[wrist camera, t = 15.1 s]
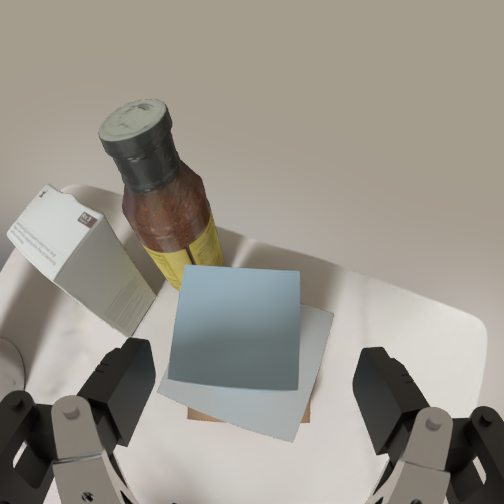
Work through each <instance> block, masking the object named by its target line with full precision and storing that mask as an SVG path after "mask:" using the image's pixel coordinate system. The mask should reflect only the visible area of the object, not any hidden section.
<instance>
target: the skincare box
mask: <svg viewBox="0 0 504 504" xmlns="http://www.w3.org/2000/svg"><path fill="white" fill-rule="evenodd" d="M7 236H8V238H9V239H10V240H11V241H12V243H13V244H14V245H15V246H16V247H17V249H18V250H19V251H20V252H21V253H22V254H23V255H24V256H25V257H26V258H27V259H28V260H29V261H30V262H31V263H32V264H33V265H34V266H35V267H36V268H37V269H38V270H39V271H40V272H41V273H42V274H43V275H45V276H46V277H47V278H48V279H49V280H50V281H52V282H53V283H54V284H56V285H57V286H58V287H59V288H61V289H62V290H63V291H64V292H66V293H67V294H68V295H69V296H71V297H72V298H73V299H74V300H76V301H77V302H78V303H79V304H81V305H82V306H83V307H85V308H86V309H87V310H88V311H90V312H91V313H92V314H94V315H95V316H97V317H98V318H99V319H101V320H102V321H103V322H105V323H106V324H108V325H109V326H111V327H112V328H114V329H115V330H117V331H118V332H119V333H121V334H122V335H124V336H126V337H127V338H129V337H131V336H132V334H133V333H134V331H135V329H136V328H137V326H138V324H139V323H140V321H141V320H142V318H143V316H144V315H145V313H146V312H147V310H148V309H149V307H150V305H151V304H152V302H153V301H154V299H155V298H156V295H155V293H154V292H153V291H152V289H151V288H150V286H149V285H148V284H147V282H146V281H145V279H144V278H143V276H142V275H141V273H140V272H139V270H138V269H137V267H136V266H135V264H134V263H133V261H132V260H131V258H130V257H129V255H128V254H127V252H126V250H125V249H124V247H123V246H122V244H121V242H120V241H119V239H118V238H117V236H116V234H115V233H114V231H113V229H112V228H111V226H110V224H109V223H108V221H107V219H106V217H105V216H104V214H102V213H100V212H98V211H96V210H94V209H92V208H90V207H88V206H86V205H84V204H82V203H80V202H78V201H77V200H76V198H75V197H74V196H73V195H71V194H66V193H62V192H60V191H58V190H57V189H55V188H54V187H53V186H52V185H50V184H47V185H46V186H45V187H44V188H43V189H42V190H41V191H40V192H39V193H38V194H37V196H36V197H35V198H34V199H33V200H32V201H31V203H30V204H29V205H28V207H27V208H26V209H25V210H24V211H23V213H22V214H21V215H20V217H19V218H18V219H17V220H16V221H15V223H14V224H13V225H12V226H11V228H10V229H9V231H8V232H7Z"/></svg>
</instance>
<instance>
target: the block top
mask: <svg viewBox="0 0 504 504" xmlns="http://www.w3.org/2000/svg"><path fill="white" fill-rule="evenodd" d="M333 317H334V314H333V313H330V312H327V311H324V310H320V309H317V308H314V307H311V306H308V305H304V304H301V303H300V353H299V383H298V390H295V391H285V392H256V391H241V390H229V389H218V388H210V387H204V386H199V385H193V384H188V383H183V382H179V381H174V380H170V379H167V378H168V370H169V364H168V367H167V369H166V371H165V373H164V376H163V378H162V380H161V383H160V385H159V388H158V390H157V392H158V393H160V394H162V395H164V396H166V397H168V398H170V399H172V400H174V401H176V402H178V403H181V404H183V405H185V406H187V407H190V408H192V409H194V410H197V411H199V412H201V413H204V414H206V415H209V416H211V417H214V418H216V419H219V420H222V421H224V422H227V423H230V424H232V425H235V426H238V427H241V428H244V429H247V430H250V431H253V432H256V433H260V434H263V435H266V436H270V437H273V438H277V439H280V440H284V441H288V442H292V443H293V441H294V439H295V436H296V433H297V431H298V428H299V426H300V423H301V420H302V417H303V415H304V412H305V409H306V406H307V403H308V401H309V398H310V395H311V392H312V389H313V386H314V383H315V380H316V376H317V373H318V370H319V367H320V364H321V360H322V357H323V353H324V350H325V347H326V343H327V339H328V336H329V332H330V328H331V325H332V321H333Z"/></svg>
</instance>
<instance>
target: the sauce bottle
mask: <svg viewBox="0 0 504 504" xmlns="http://www.w3.org/2000/svg"><path fill="white" fill-rule="evenodd" d="M171 128H172V120H171V117H170V114H169V112H168V108H167V106H166V104H165V103H164V102H162V101H160V100H157V99H145V100H139V101H135V102H131V103H128V104H126V105H124V106H122V107H120V108H118V109H117V110H115V111H114V112H113V113H112V114H110V115H109V116H108V117H107V118H106V120H105V121H104V122H103V123H102V125H101V126H100V128H99V138H100V140H101V142H102V144H103V147H104V149H105V151H106V152H107V153H108V155H110V156H111V157H113V159H114V161H115V163H116V165H117V167H118V170H119V171H120V173H121V175H122V179H123V182H124V184H125V187H124V196H123V204H122V209H123V214H124V215H125V217H126V219H127V220H128V222H129V224H130V225H131V227H132V229H133V230H134V231H135V232H136V235H137V237H138V239H139V241H140V242H141V244H142V245H143V247H144V248H145V249H146V251H147V252H148V254H149V255H150V256H151V258H152V259H153V261H154V262H155V263H156V265H157V266H158V268H159V269H160V270H161V272H162V273H163V275H164V276H165V277H166V279H167V280H168V281H169V283H170V284H171V285H172V287H174V288H175V289H177V290H179V291H180V289H181V283H182V278H183V272H184V267H185V265H201V266H217V267H224V260H223V255H222V252H221V248H220V244H219V239H218V235H217V231H216V227H215V223H214V220H213V216H212V212H211V208H210V204H209V201H208V200H207V198H206V193H205V189H204V185H203V182H202V179H201V177H200V176H199V175H197V174H196V173H195V172H193V170H191V169H190V168H189V167H188V166H187V165H186V164H185V163H184V162H183V161H182V160H180V158H179V155H178V152H177V151H176V149H175V146H174V142H173V139H172V134H171Z"/></svg>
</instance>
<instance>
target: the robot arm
mask: <svg viewBox="0 0 504 504" xmlns="http://www.w3.org/2000/svg"><path fill="white" fill-rule="evenodd" d="M155 378H156V373H155V367H154V362H153V356H152V351H151V346H150V342H149V341H148V340H145V339H138V338H132V337H129V338H128V339H127V340H126V342H125V343H124V344H123V346H122V347H121V348H115V349H114V350H112V351H111V352H109V353H107V354H106V355H105V357H104V358H103V359H102V361H101V362H100V364H99V365H98V366H97V367H96V369H95V371H94V372H93V373H92V374H91V376H90V377H89V378H88V380H87V381H86V383H85V384H84V385H83V387H82V388H81V389H80V391H79V392H78V394H77V395H76V396H75V395H70V396H65V397H62V398H60V399H59V400H57V401H56V402H55V403H54V405H45V404H36V403H35V402H34V400H33V398H32V397H31V395H30V394H29V393H28V392H26V391H23V389H24V380H25V375H24V366H23V362H22V358H21V355H20V353H19V351H18V350H17V348H16V347H15V346H14V345H13V344H12V343H11V342H9V341H6V340H4V339H2V338H0V504H43V502H44V500H45V497H46V495H47V492H48V490H49V488H50V485H51V483H52V481H53V479H54V476H55V480H56V485H57V488H58V492H59V496H60V499H61V503H62V504H139V503H138V501H137V500H136V498H135V497H134V495H133V493H132V491H131V489H130V487H129V485H128V483H127V481H126V479H125V477H124V474H123V472H122V470H121V467H120V465H119V463H118V460H117V458H116V455H115V453H114V449H115V446H116V444H118V445H121V446H125V447H128V444H129V442H130V440H131V437H132V435H133V432H134V430H135V428H136V425H137V423H138V421H139V418H140V416H141V414H142V412H143V409H144V407H145V405H146V402H147V400H148V398H149V396H150V393H151V391H152V389H153V387H154V384H155ZM353 393H354V396H355V398H356V401H357V403H358V406H359V409H360V411H361V414H362V417H363V419H364V422H365V425H366V427H367V430H368V433H369V436H370V438H371V441H372V444H373V447H374V449H375V452H376V455H381V454H385V453H388V455H389V459H388V461H387V462H386V464H385V467H384V469H383V471H382V473H381V475H380V477H379V479H378V481H377V483H376V485H375V487H374V489H373V490H372V492H371V494H370V496H369V498H368V499H367V501H366V502H365V504H443V502H444V498H445V495H446V497H447V500H448V503H449V504H504V422H503V420H502V418H501V417H500V416H499V414H498V413H497V412H496V411H495V410H494V409H492V408H490V407H486V406H480V407H477V408H476V409H474V411H473V412H472V414H471V415H470V417H469V418H451V416H450V415H449V414H448V413H447V412H446V411H444V410H443V409H440V408H437V407H430V405H429V404H428V402H427V401H426V399H425V397H424V396H423V394H422V393H421V391H420V390H419V388H418V386H417V385H416V383H415V382H414V380H413V379H412V377H411V376H410V375H409V373H408V371H407V370H406V368H405V367H404V365H403V364H401V363H400V362H399V361H397V360H396V359H395V358H390V357H389V355H388V354H387V352H386V351H385V349H384V348H383V347H371V348H363V349H362V351H361V354H360V358H359V361H358V364H357V368H356V371H355V374H354V378H353ZM23 442H25V444H26V445H27V446H26V448H25V450H24V451H23V453H22V455H21V457H20V459H19V460H18V462H17V464H16V466H15V468H14V467H13V459H14V457H15V455H16V454H17V452H18V450H19V449H20V447H21V445H22V443H23ZM477 456H478V458H479V460H480V462H481V464H482V466H483V469H484V471H485V473H486V481H485V483H484V485H483V483H482V481H481V478H480V476H479V474H478V472H477V470H476V468H475V466H474V463H473V460H474V459H475V458H476V457H477ZM172 504H175V503H172Z"/></svg>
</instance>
